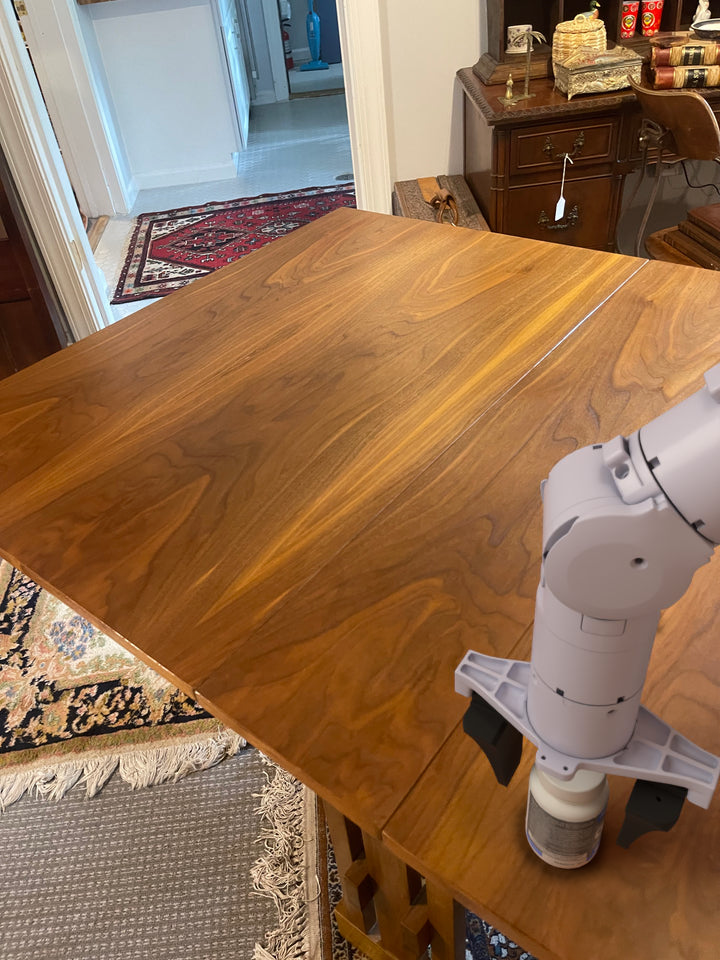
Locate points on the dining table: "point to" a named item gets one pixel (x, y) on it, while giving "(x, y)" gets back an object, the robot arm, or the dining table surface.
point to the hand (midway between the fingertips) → (565, 801)
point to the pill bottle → (566, 816)
